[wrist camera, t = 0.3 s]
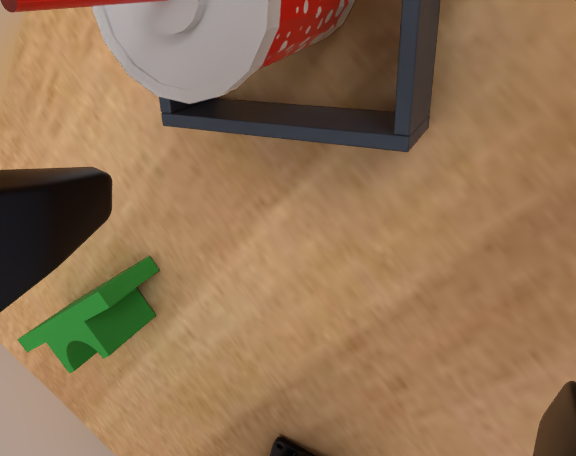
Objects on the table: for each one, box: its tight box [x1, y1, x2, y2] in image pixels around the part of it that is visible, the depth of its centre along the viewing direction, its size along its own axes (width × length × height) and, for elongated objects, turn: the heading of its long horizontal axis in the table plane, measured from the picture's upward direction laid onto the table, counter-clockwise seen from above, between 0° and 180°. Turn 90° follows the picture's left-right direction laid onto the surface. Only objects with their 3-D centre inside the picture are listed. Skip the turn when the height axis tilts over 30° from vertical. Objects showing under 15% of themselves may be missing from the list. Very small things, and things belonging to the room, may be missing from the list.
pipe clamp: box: [18, 256, 159, 373], centre depth 34 cm, size 11×4×5 cm, turn 126°
